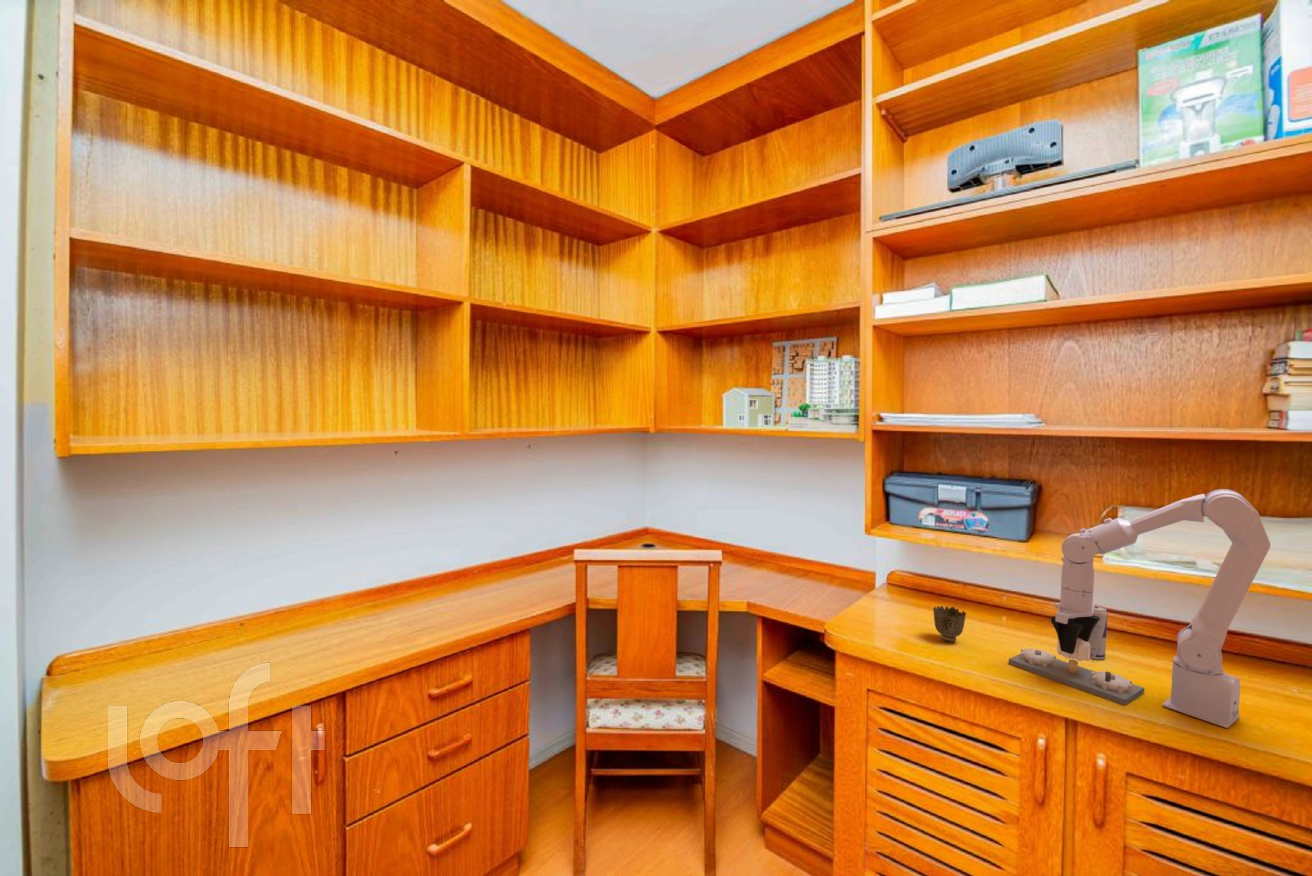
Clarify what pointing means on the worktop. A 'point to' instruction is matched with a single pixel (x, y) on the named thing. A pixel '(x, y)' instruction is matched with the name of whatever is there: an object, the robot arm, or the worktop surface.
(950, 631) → the cup
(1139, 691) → the gear board
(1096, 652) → the energy drink
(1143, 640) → the worktop surface
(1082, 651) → the loose gear
